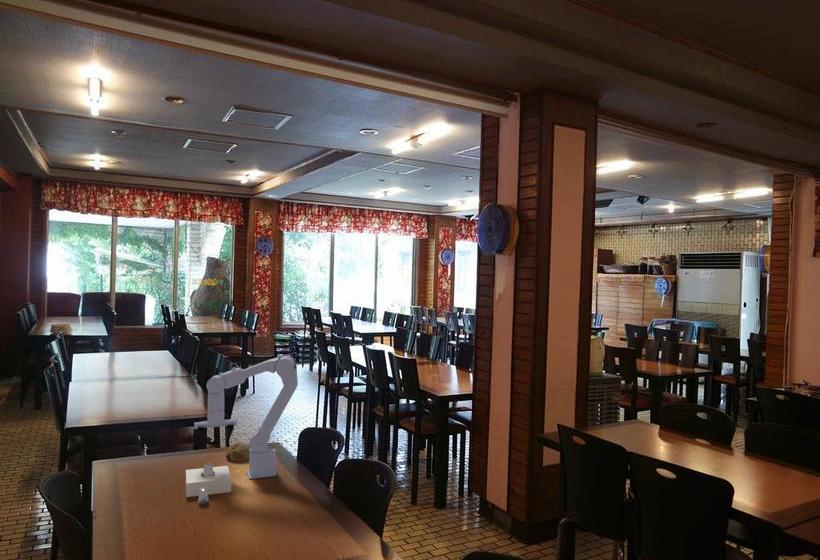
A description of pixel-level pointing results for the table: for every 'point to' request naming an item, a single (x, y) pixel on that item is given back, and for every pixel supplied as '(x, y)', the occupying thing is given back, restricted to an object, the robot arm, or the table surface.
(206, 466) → the tall steel pin
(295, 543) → the table surface
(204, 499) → the short steel pin
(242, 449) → the bread roll
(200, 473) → the hole block
